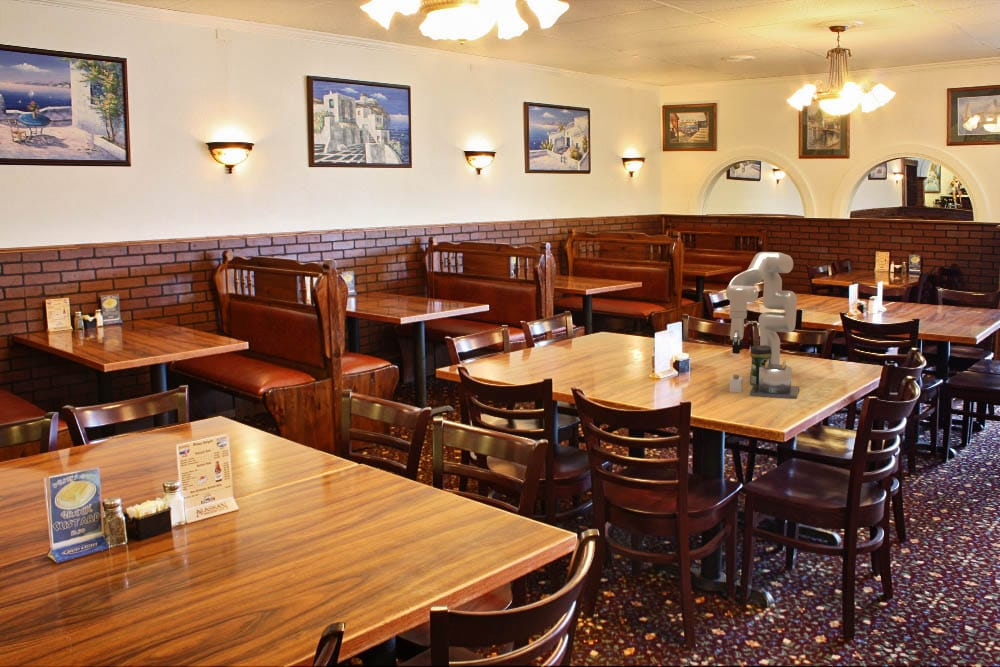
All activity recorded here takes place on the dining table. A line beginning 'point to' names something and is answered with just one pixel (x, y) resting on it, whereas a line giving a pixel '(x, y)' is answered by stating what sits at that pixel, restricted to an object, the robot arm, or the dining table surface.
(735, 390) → the white block with knob
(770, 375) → the cylinder on square plate
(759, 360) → the coffee jar
